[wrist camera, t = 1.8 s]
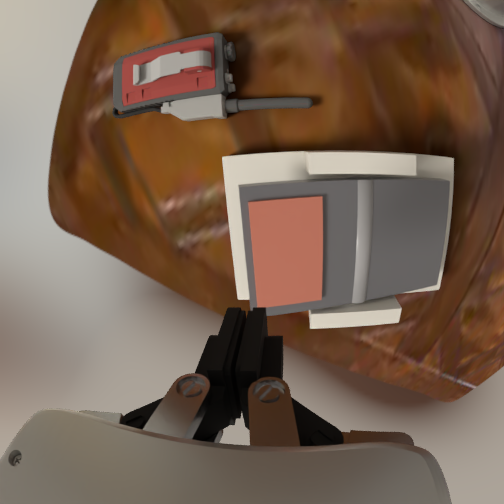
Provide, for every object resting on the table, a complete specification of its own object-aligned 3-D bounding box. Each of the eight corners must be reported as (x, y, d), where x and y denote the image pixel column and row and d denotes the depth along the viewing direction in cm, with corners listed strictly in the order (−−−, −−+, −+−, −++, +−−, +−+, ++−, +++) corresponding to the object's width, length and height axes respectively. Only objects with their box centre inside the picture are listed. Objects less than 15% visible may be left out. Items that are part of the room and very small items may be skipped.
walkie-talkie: (121, 135, 26) (312, 115, 23) (97, 136, 22) (316, 109, 19) (120, 64, 23) (305, 35, 20) (97, 56, 19) (308, 17, 16)
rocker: (437, 177, 20) (452, 181, 18) (427, 277, 24) (438, 286, 22) (238, 184, 19) (239, 188, 17) (250, 306, 23) (252, 319, 21)
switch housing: (441, 156, 22) (483, 163, 15) (430, 279, 27) (459, 314, 20) (228, 155, 25) (205, 160, 18) (241, 287, 30) (228, 329, 23)
